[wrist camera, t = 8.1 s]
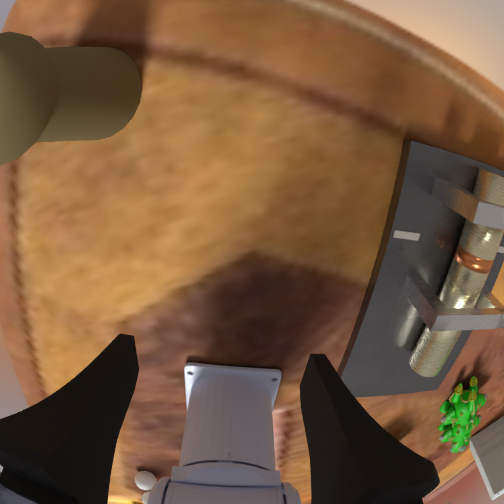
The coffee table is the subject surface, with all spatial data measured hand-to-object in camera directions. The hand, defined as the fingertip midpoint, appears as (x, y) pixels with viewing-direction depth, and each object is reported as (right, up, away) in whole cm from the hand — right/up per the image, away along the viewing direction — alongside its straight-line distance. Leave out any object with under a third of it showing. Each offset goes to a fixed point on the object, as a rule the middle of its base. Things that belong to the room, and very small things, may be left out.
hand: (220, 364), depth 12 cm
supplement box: (+42, -26, +24) cm, 55 cm away
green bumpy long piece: (+28, -16, +19) cm, 37 cm away
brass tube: (+16, +2, +7) cm, 18 cm away
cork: (-8, +14, +4) cm, 17 cm away
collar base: (+16, +1, +10) cm, 19 cm away
